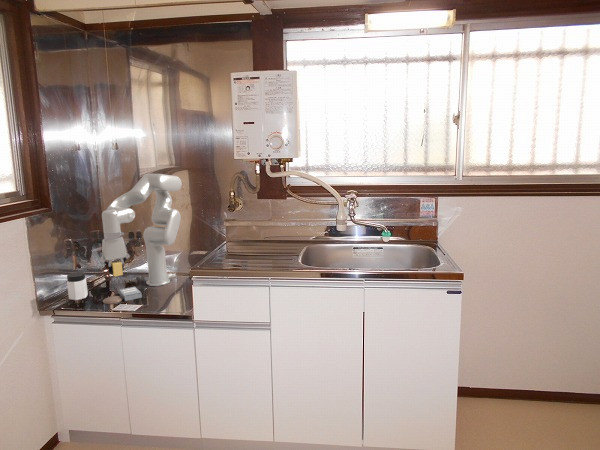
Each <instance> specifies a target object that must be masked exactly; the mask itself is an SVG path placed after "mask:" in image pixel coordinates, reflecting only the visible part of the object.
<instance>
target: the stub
mask: <svg viewBox="0 0 600 450" xmlns="http://www.w3.org/2000/svg"><path fill="white" fill-rule="evenodd" d="M111 265H112V268H113V274H111V275H112V276H113V277H119V276H123V275H124V270H122V263H121V262H120V261H119V259H117V260H112V262H111Z"/></svg>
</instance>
